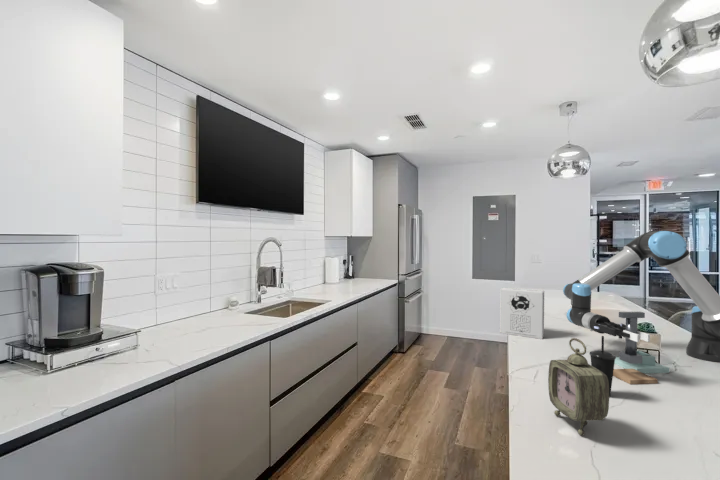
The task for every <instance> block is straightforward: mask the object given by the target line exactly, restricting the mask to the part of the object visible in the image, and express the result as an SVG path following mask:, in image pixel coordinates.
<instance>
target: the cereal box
mask: <svg viewBox="0 0 720 480" xmlns="http://www.w3.org/2000/svg"><path fill="white" fill-rule="evenodd" d="M499 302H500V303H499V334H503V335H509V336H510V335H511V336H519V337H524V338H533V339H538V340H543V339H544V336H545V290H543V289H542V290H541V289H528V288H514V287H502V288H500V289H499Z"/></svg>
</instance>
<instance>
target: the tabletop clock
mask: <svg viewBox="0 0 720 480" xmlns="http://www.w3.org/2000/svg"><path fill="white" fill-rule="evenodd" d="M573 341H575V342H579V344H581V345H582V347H583V349H584V351H583V352H581V351H580V348H577V347H575V348H574V347H573V346H572V342H573ZM568 344H569V347H570V349H571V351H572V352H573V353H572V354H570V355H569V356H568V357H567V358H566V359H551V360H550V362H549V365H548V366H549V367H548V377H547V378H548V381H547V382H548V396H549V400H550V402H551V404H552V405H553V406H554V408H556V410H554V411H553V413H554V415H555V417H560V416H561V414H562V415H564V416H566V417H567V418H568V419H570V420H571V421H574V422H580V428H579V429H578V430H577V433H578V435H579V436H582V437H583V436H585V434H586V433H585V430H584V426H587V425H588V422H589V421H603V420H605V419H606V417H607V416H608V414H609V408H610V407H609V406H610V396H609V382H608V378H607V376H606V375H605V374H604V373H603V372H602V371H600V370H598V369H596V368H595V367H593V366H591V364H589V363H588V359H587V358H586V357H585V356H584V355H585V354H587V353H586V352H587V346H586V345H585V343H584V342H583V341H582V340H581V339H579V338H575V337H573V338H570V339H569V342H568Z"/></svg>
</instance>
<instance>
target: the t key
mask: <svg viewBox="0 0 720 480" xmlns="http://www.w3.org/2000/svg"><path fill="white" fill-rule="evenodd" d="M618 318H621V319H625V325H626V331H629V332H632V333H635V334H637V329H638V319H645V318H646V316H645V312H643V311H618ZM624 340H625V341H624V350H623V351H624V352H622V351H619V356H618V357H619V359H620V360H622V361H625V362H627V363H630V364H641V363H642V355H640V354H637V351H638V342H636V341H633V340H630V339H627V338H625V339H624Z"/></svg>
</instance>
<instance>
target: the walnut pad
mask: <svg viewBox="0 0 720 480" xmlns="http://www.w3.org/2000/svg"><path fill="white" fill-rule="evenodd" d="M613 378H617V379H618V380H621V381H623V382H624V383H627V384H629V385H649V384H655V385H656V384H659V383H658V382H659V380H658V378H656V377H653V376H651V375H648V374H647V373H642V372H640V371H637V370H635V369H626V368H614V371H613Z"/></svg>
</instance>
